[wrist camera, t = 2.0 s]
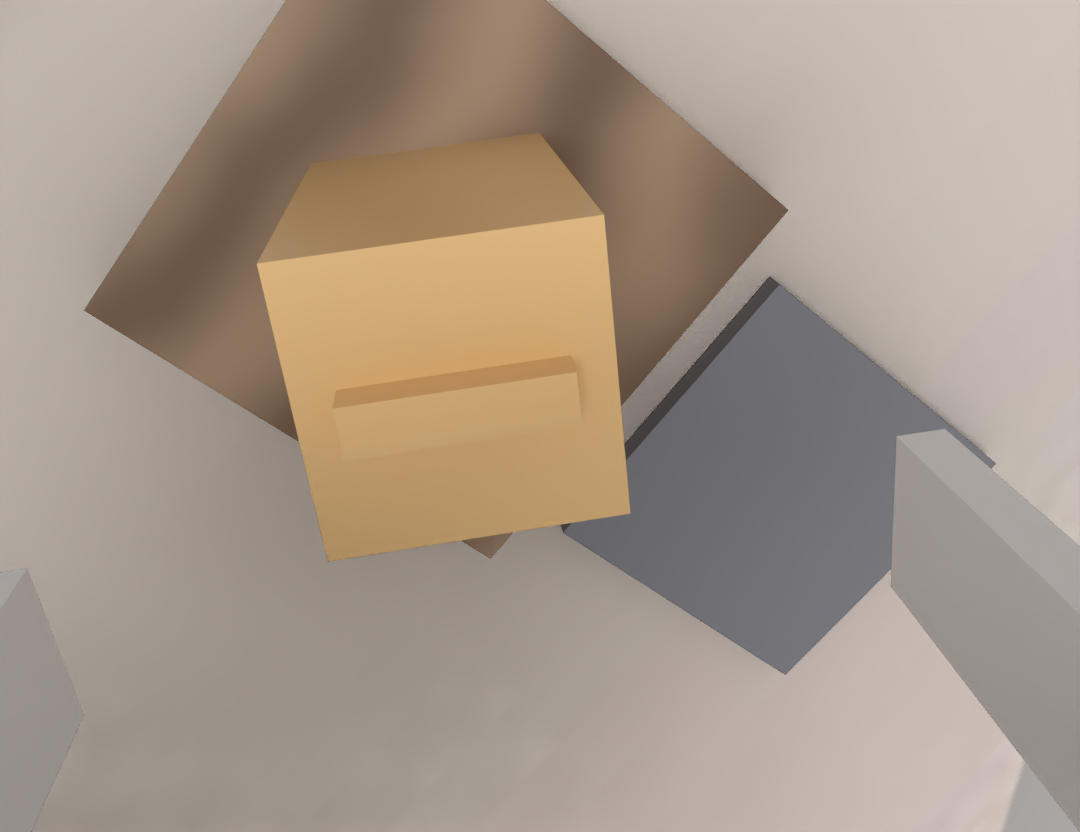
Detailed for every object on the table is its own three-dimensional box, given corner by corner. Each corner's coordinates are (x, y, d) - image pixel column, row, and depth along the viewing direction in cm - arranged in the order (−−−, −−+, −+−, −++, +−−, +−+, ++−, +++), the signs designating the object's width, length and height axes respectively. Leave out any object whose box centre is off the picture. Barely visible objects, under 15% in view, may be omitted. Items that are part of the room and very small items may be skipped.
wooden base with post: (102, 291, 33) (-33, 429, 23) (381, -137, 29) (365, -194, 19) (487, 530, 38) (512, 726, 28) (768, 197, 34) (913, 289, 24)
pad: (559, 519, 39) (563, 532, 38) (770, 276, 36) (779, 284, 35) (777, 659, 43) (785, 674, 42) (982, 452, 40) (996, 463, 39)
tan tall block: (354, 376, 33) (323, 586, 22) (310, 163, 30) (249, 277, 19) (563, 345, 34) (639, 535, 22) (539, 132, 31) (613, 225, 19)
